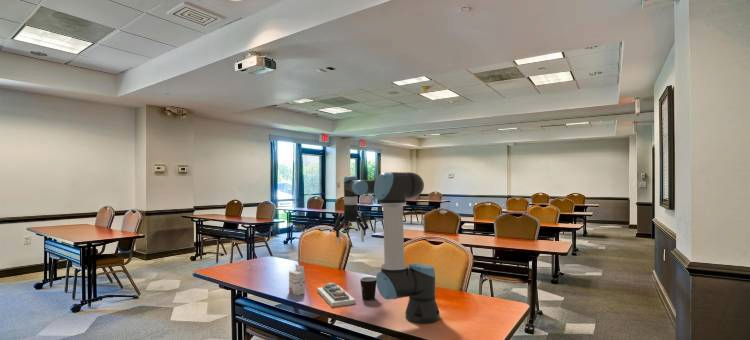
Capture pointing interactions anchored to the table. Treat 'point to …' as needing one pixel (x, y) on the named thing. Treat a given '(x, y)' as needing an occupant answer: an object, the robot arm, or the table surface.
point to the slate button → (334, 288)
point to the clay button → (339, 293)
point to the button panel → (335, 297)
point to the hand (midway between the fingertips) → (351, 242)
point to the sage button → (330, 285)
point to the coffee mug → (368, 288)
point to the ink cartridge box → (297, 281)
